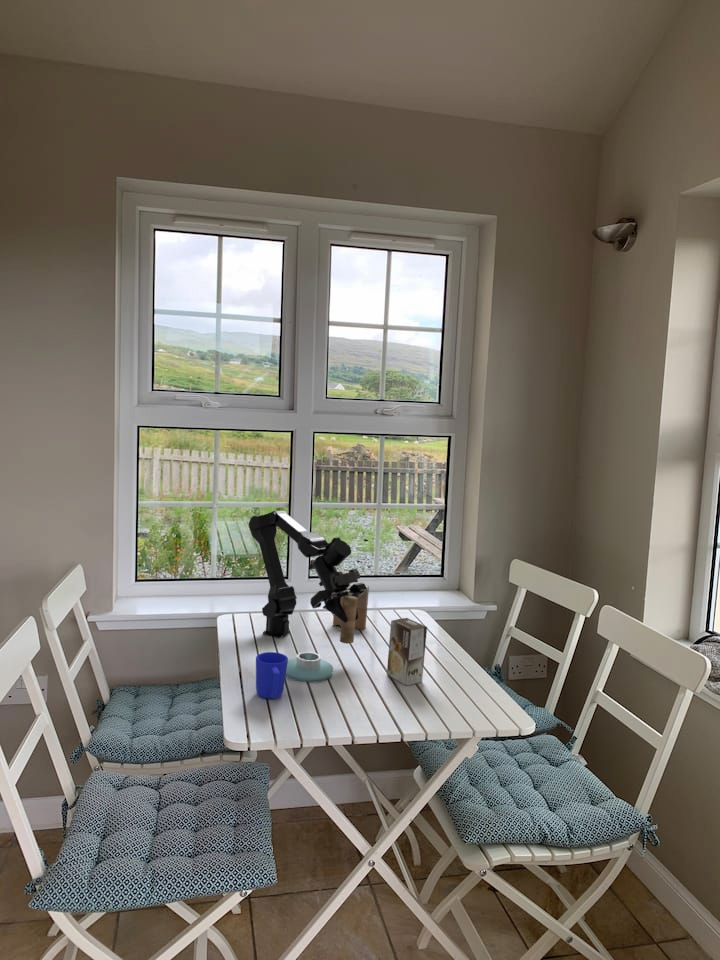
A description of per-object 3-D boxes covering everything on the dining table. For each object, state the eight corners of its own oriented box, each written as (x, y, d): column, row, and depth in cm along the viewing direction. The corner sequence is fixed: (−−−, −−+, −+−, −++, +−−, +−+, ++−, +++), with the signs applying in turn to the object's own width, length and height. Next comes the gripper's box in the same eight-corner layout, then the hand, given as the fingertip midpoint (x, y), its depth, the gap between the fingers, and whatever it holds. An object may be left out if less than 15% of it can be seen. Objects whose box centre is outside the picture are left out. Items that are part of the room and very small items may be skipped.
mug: (258, 709, 184) (260, 670, 183) (251, 688, 196) (253, 652, 194) (290, 707, 187) (293, 669, 185) (282, 687, 198) (284, 651, 197)
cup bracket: (273, 673, 207) (274, 657, 206) (299, 658, 219) (300, 643, 219) (316, 686, 201) (318, 670, 200) (341, 670, 213) (342, 655, 213)
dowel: (337, 641, 217) (340, 597, 215) (344, 637, 220) (348, 595, 218) (349, 644, 215) (352, 600, 213) (356, 641, 218) (359, 597, 217)
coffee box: (423, 682, 210) (428, 626, 208) (406, 686, 206) (411, 630, 204) (402, 670, 217) (407, 617, 215) (385, 674, 213) (390, 620, 211)
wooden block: (363, 630, 250) (368, 577, 247) (332, 625, 252) (336, 573, 249) (365, 626, 253) (370, 575, 251) (335, 622, 255) (339, 571, 253)
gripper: (320, 563, 210) (344, 612, 204) (365, 556, 224) (389, 601, 218) (299, 584, 217) (322, 631, 211) (344, 575, 230) (367, 620, 224)
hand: (351, 620), depth 216 cm, fingers closed on dowel, 4 cm apart
